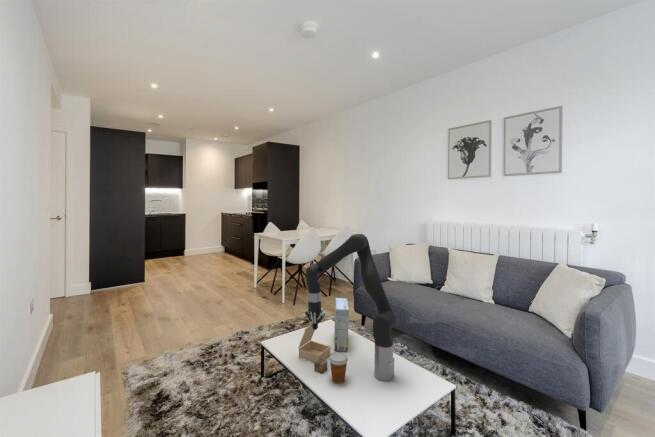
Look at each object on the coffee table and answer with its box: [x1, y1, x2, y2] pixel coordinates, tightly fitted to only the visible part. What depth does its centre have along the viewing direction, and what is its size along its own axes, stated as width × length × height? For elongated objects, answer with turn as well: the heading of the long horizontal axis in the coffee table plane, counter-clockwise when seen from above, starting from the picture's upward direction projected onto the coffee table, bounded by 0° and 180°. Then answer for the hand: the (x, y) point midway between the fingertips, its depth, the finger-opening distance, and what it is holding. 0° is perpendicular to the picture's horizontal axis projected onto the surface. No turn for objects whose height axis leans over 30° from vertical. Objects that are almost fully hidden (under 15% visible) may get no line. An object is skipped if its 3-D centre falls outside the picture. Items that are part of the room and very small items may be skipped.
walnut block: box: [313, 358, 328, 375], centre depth 161 cm, size 5×5×5 cm
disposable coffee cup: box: [328, 351, 349, 384], centre depth 153 cm, size 10×10×12 cm
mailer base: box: [298, 340, 332, 364], centre depth 175 cm, size 14×12×5 cm
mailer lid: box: [298, 324, 316, 349], centre depth 177 cm, size 14×12×1 cm
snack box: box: [334, 297, 350, 352], centre depth 191 cm, size 22×9×26 cm, turn 179°
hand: (315, 329), depth 174 cm, fingers closed
